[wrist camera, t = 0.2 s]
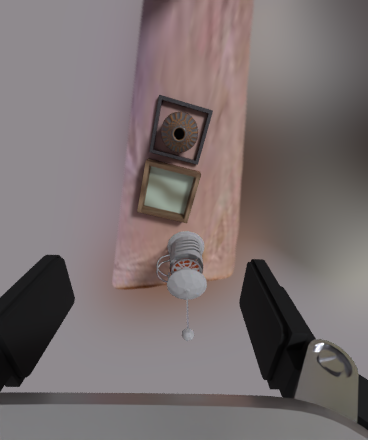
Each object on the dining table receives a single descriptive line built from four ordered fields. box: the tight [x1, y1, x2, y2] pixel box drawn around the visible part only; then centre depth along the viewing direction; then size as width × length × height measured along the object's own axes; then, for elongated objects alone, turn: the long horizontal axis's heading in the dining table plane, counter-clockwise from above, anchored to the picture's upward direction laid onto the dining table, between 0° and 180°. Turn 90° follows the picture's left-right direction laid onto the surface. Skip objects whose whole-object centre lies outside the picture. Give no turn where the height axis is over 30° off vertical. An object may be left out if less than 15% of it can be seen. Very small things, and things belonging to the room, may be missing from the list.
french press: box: [156, 231, 207, 341], centre depth 41 cm, size 10×12×25 cm
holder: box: [137, 158, 201, 223], centre depth 44 cm, size 12×12×3 cm
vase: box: [161, 112, 198, 152], centre depth 37 cm, size 7×7×9 cm
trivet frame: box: [150, 95, 213, 165], centre depth 40 cm, size 10×10×1 cm
